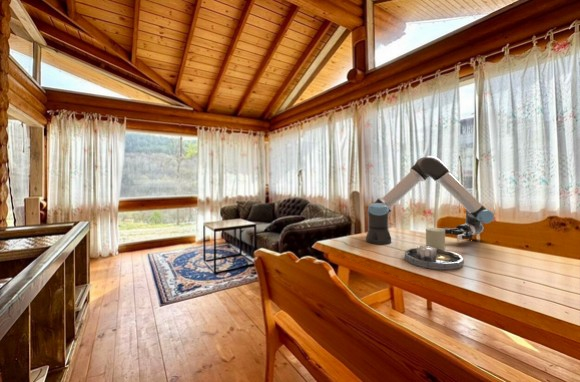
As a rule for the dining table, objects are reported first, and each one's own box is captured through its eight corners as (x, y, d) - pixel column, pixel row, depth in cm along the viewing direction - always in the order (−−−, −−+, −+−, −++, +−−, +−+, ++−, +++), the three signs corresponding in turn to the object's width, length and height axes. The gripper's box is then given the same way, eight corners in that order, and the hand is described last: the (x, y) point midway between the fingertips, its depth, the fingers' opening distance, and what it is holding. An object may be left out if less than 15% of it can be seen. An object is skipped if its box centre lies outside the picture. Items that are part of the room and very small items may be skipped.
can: (444, 254, 133) (444, 231, 133) (424, 251, 139) (424, 229, 138) (446, 249, 141) (446, 227, 140) (427, 247, 146) (427, 226, 146)
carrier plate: (395, 255, 133) (395, 241, 133) (437, 252, 137) (437, 238, 136) (426, 272, 110) (426, 255, 109) (476, 267, 113) (476, 251, 113)
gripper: (489, 240, 144) (469, 247, 133) (443, 233, 165) (423, 237, 155) (489, 227, 143) (469, 232, 133) (443, 221, 165) (423, 225, 154)
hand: (444, 235), depth 144 cm, fingers open, 13 cm apart
